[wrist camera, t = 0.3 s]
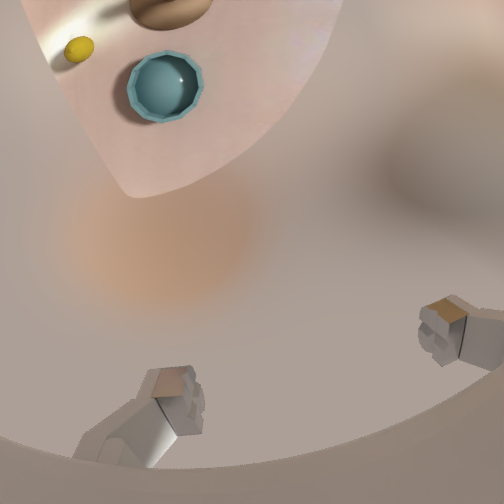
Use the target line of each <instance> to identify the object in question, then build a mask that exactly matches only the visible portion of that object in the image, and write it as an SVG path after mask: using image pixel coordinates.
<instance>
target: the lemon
mask: <svg viewBox="0 0 504 504" xmlns="http://www.w3.org/2000/svg"><path fill="white" fill-rule="evenodd" d="M93 50H94V43H93V41H92V40H91V39H90V38H88V37H85V36H81V37H77V38H74V39H73V40H71V41H70V42H69V43H68V44H67V45H66V47H65V51H64V55H65V57H66V59H67V60H68V61H70V62H73V63H78V62H82V61H85V60H86V59H88V58H89V57H90V56H91V54H92V53H93Z"/></svg>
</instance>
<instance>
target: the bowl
mask: <svg viewBox="0 0 504 504" xmlns="http://www.w3.org/2000/svg"><path fill="white" fill-rule="evenodd" d="M203 88H204V82H203V76H202V70H201V68H200V67H199V65H198V64H197V63H196V62H195V61H194V60H193V59H192V58H191V57H190V56H189V55H186V54H182V53H178V52H174V51H169V50H166V51H162V52H159V53H155V54H151V55H148V56H146V57H145V58H144V59H143V60H142V61H141V62H140V63H139V64H138V65H137V66H136V67H135V68H134V69H133V70H132V72H131V75H130V78H129V81H128V84H127V88H126V89H127V93H128V97H129V101H130V105H131V107H132V108H133V109H134V110H135V111H136V112H137V113H138V114H139V115H140V116H141V117H142V118H144V119H147V120H151V121H155V122H159V123H165V122H169V121H173V120H178V119H181V118H182V117H184V116H185V115H186V114H187V113H188V112H189V111H191V110H192V109H193V108H194V107H195V106H196V105H197V103H198V100H199V97H200V95H201V92H202V90H203Z"/></svg>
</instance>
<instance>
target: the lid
mask: <svg viewBox="0 0 504 504" xmlns="http://www.w3.org/2000/svg"><path fill="white" fill-rule="evenodd" d="M212 1H213V0H130V7H131V11H132V13H133V15H134V16H135V18H136V19H137V20H138V21H139V22H141V23H142V24H144V25H146V26H148V27H151V28H154V29H160V30H170V29H177V28H180V27H184V26H186V25H188V24H190V23H192V22H194V21H196V20H197V19H199V18H200V17H201V16H202V15H203V14H204V13H205V12H206V11H207V10H208V8H209V7H210V5H211V3H212Z"/></svg>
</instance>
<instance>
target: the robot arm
mask: <svg viewBox="0 0 504 504" xmlns="http://www.w3.org/2000/svg"><path fill="white" fill-rule="evenodd" d="M420 320H421V321H422V323H421V325H420V327H419V331H418V337H419V342H420V344H421V346H422V348H423V349H424V350H425V351H427V352H431V353H432V358H433V359H434V360H435V361H436V362H437V363H438V364H439V365H440V366H441V367H443V366H445V365H447V364H449V363H451V362H453V361H455V360H457V359H459V360H461V361H464V362H467V363H469V364H472V365H475V366H478V367H481V368H483V369H486V370H489V371H491V372H490V373H488V374H487V375H486V376H484V377H483V378H481V379H480V380H478V381H477V382H475V383H474V384H472V385H470V386H469V387H467V388H465V389H464V390H462V391H461V392H459V393H457V394H455V395H454V396H452V397H450V398H449V399H447V400H445V401H443V402H441V403H439V404H438V405H436V406H434V407H432V408H430V409H428V410H426V411H424V412H422V413H420V414H418V415H416V416H413V417H411V418H409V419H407V420H405V421H402V422H400V423H398V424H395V425H393V426H390V427H388V428H386V429H383V430H381V431H378V432H376V433H373V434H370V435H367V436H364V437H362V438H359V439H356V440H353V441H350V442H346V443H343V444H340V445H337V446H334V447H330V448H326V449H323V450H319V451H315V452H311V453H307V454H302V455H298V456H293V457H289V458H284V459H279V460H273V461H267V462H261V463H254V464H246V465H238V466H228V467H216V468H197V469H157V468H152V467H153V466H154V465H155V463H156V462H157V461H158V460H159V459H160V458H161V456H162V455H163V454H164V453H165V452H166V450H167V449H168V448H169V447H170V446H171V445H172V443H173V442H174V441H175V440H176V439H177V436H184V435H195V434H202V427H203V418H202V416H201V413H202V412H203V411H204V408H205V401H204V394H203V391H202V388H201V385H200V384H198V383H197V382H195V379H196V373H195V371H194V369H193V367H192V366H191V365H188V366H179V367H169V368H158V369H150V370H148V371H147V373H146V375H145V378H144V380H143V383H142V385H141V387H140V390H139V392H138V395H137V397H136V399H131V400H130V401H129V402H127V403H126V404H125V405H123V406H122V407H121V408H119V409H118V410H116V411H115V412H114V413H112V414H111V415H110V416H108V417H107V418H106V419H104V420H103V421H101V422H100V423H98V424H97V425H96V426H94V427H93V428H91V429H90V430H89V431H87V432H86V433H84V434H83V436H82V438H81V440H80V442H79V444H78V446H77V448H76V450H75V453H74V454H73V457H72V458H69V457H65V456H61V455H56V454H52V453H49V452H45V451H41V450H37V449H34V448H31V447H28V446H25V445H22V444H19V443H16V442H13V441H11V440H8V439H6V438H3V437H0V504H504V311H501V310H492V309H484V308H481V309H478V308H476V307H474V306H473V305H471V304H469V303H468V302H466V301H464V300H463V299H461V298H459V297H458V296H456V295H449V296H447V297H445V298H443V299H441V300H439V301H437V302H434V303H432V304H430V305H427V306H424V307H422V308H421V311H420Z"/></svg>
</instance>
